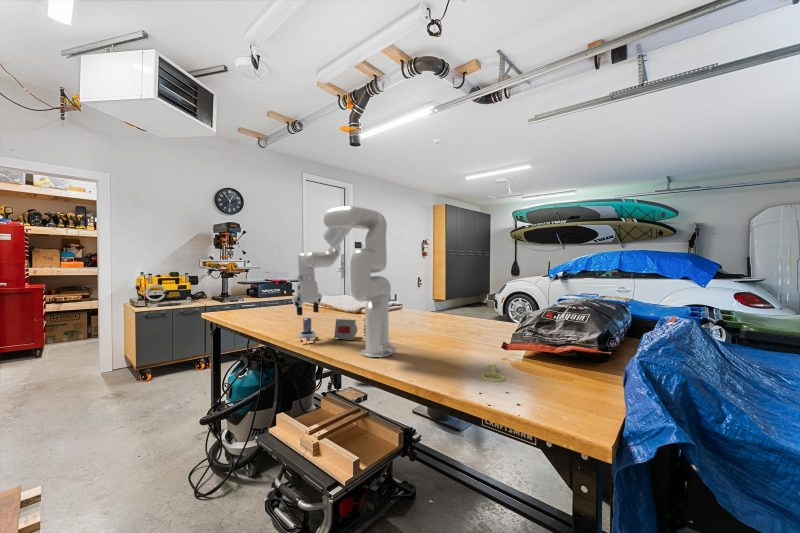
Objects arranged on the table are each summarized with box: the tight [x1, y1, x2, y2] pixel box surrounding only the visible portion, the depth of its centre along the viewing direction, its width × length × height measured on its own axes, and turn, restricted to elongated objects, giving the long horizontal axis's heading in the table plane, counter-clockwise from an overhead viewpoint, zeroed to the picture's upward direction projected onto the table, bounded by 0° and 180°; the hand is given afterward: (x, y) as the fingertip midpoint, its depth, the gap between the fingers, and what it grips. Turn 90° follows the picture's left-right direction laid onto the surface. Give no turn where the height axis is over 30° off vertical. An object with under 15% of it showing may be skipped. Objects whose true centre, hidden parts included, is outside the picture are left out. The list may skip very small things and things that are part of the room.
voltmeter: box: [333, 318, 365, 341], centre depth 154 cm, size 27×11×10 cm, turn 108°
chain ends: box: [298, 330, 317, 342], centre depth 154 cm, size 24×8×3 cm, turn 18°
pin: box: [302, 317, 312, 334], centre depth 153 cm, size 4×4×10 cm
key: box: [480, 363, 505, 383], centre depth 103 cm, size 7×12×2 cm, turn 177°
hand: (308, 313), depth 152 cm, fingers open, 9 cm apart
